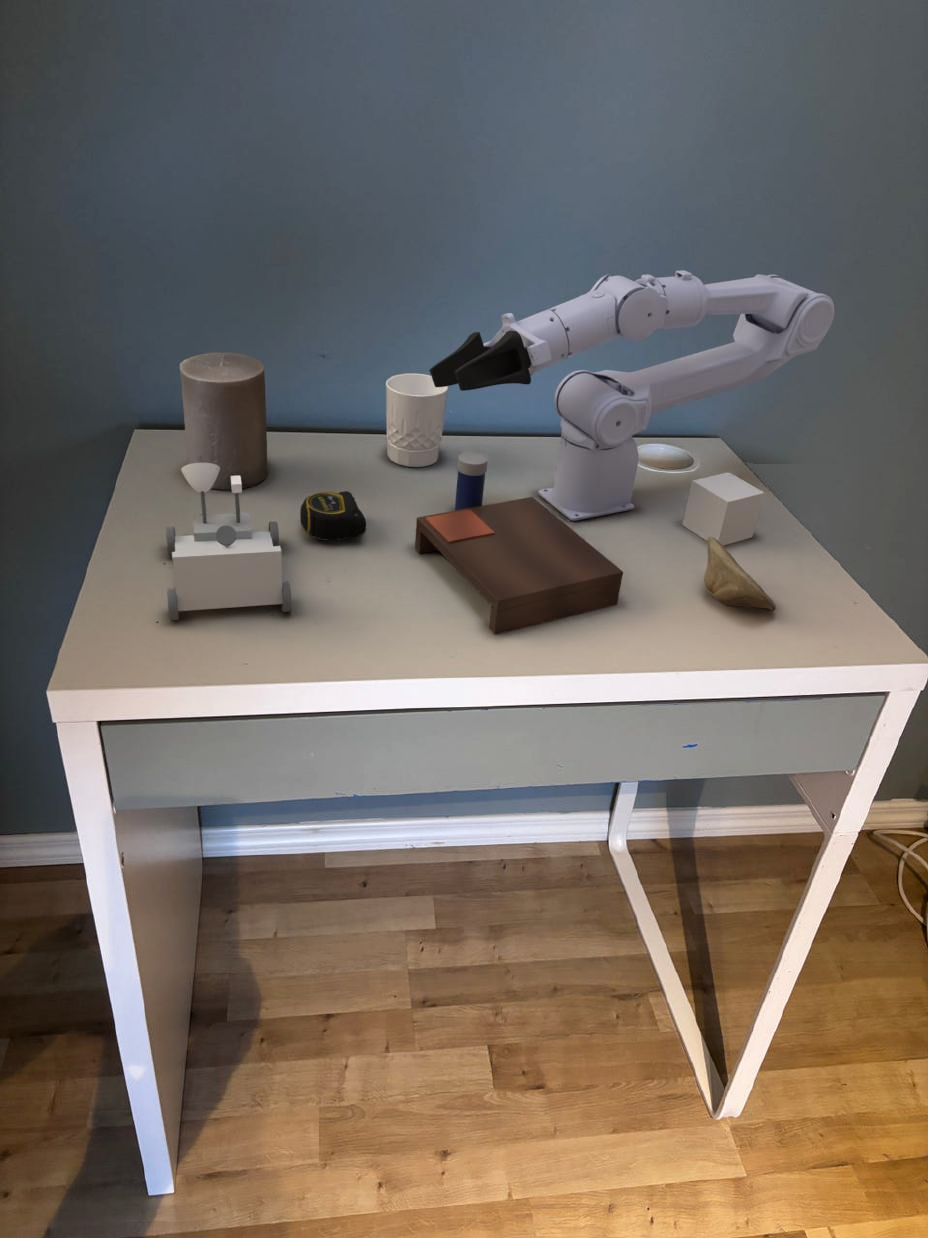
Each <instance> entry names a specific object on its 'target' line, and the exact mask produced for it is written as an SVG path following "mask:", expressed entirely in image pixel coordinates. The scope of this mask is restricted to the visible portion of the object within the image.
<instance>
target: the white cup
mask: <svg viewBox="0 0 928 1238" xmlns="http://www.w3.org/2000/svg"><path fill="white" fill-rule="evenodd" d="M448 391H449V386H446V387H435V385H434V382H433V379H432V376H431V374H430V375H429V374H424V373H401V374H395V375H393V376H391V377H389V378H388V379H386V381H385V423H386V438H387V441H386V443H387V444H386V445H387V448H386V451H387V454H386V455H387V457H388V458H389V460H390V461H391V462H393V463H394V464H396V465H399V466H403V467H408V468H424V467H428V466H431V465H433V464H436V462H438V459H439V456H440V447H441V442H442V440H443V439H442V438H443V431H444V424H445V416H446V408H447V406H446V405H447V399H448V393H449V392H448Z"/></svg>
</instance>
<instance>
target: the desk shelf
mask: <svg viewBox="0 0 928 1238" xmlns="http://www.w3.org/2000/svg"><path fill="white" fill-rule="evenodd" d="M414 538H415V540H414V550H415V551H416V552H417V553H418V554H419V555H422V554H426V553H431V552H436V551H439V552H440V553H441V554H442V556H444V557H445V558H446V559H447V561H448V562H449V563H451V565H452V566H453V567H454V568H455V569H456V570H457V571H458V572H459V573H460V574H461V575H462V576H463V577H464V578H465V579H466V580H467V581H468V582H469V583H470V585H472V587H474V588H475V589H476V591H478V593H479V594H481V596H482V597H483V598H484V599H486V600H487V602H488V603H489V604H490V614H489V621H488V629H489V630H490V631H491V632H492V633H493V634H494V635H497V634H501V633H505V632H509V631H514V630H518V629H521V628H526V627H530V626H534V625H537V624H538V625H539V624H542V623H546V622H547V623H548V622H551V621H554V620H559V619H563V618H566V617H571V616H574V615H578V614H583V613H586V612H590V611H594V610H598V609H603V608H607V607H612V606H615V605H618V601H619V596H620V591H621V586H622V581H623V576H624V571H623V570H622V569H620V568H619V567H618V566H617V565H616V564H615V563H614V562H612V561H611V560H610V559H609V558H607V557H606V556H605V555H604V554H603V553H601V552H600V551H599V550H597V548H595V547H594V546H593V545H591V544H590V543H589V542H588V541H587V540H585V539H584V538H583V537H582V536H580V535H579V533H577V532H576V531H574V529H572V528H571V527H570V526H568V525H567V524H566V523H565V522H564V521H563V520H561V519H560V518H559V517H558V516H557V515H555V514H554V513H553V512H551V511H550V510H549V509H548V508H547V507H545V506H544V505H543V504H542V503H540V502H539V501H538V500H537V499H536V498H535V497H533V496H529V497H524V498H523V497H522V498H519V499H512V500H507V501H500V502H495V503H491V504H485V505H484V504H483V505H482V506H478V507H473V508H467V509H462V510H456V511H455V510H452V511H445V512H440V513H435V514H428V515H424V516H417V517H416V524H415V537H414Z"/></svg>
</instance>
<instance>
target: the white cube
mask: <svg viewBox="0 0 928 1238" xmlns="http://www.w3.org/2000/svg"><path fill="white" fill-rule="evenodd" d="M764 497H765V492H764V491H763V490H761V489H759V488H757V487H755V486H753V485H752V484H751V483H748V482H747V481H745V480H743V479H742V478H740V477H738V476H736V475H734V474H733V473H731V472H729V471H728V472H723V473H719V474H715V475H711V476H706V477H701V478H697V479H693V480H692V481H691V485H690V490H689V494H688V498H687V503H686V507H685V512H684V515H683V520H682V526H683V527H685V528H686V529H688V530H689V531H691V532H692V533H693V534H695V535H697V536H699V537H700V538H701V539H703V540H705V541H706V542H707V539H708V537H710V536H711V537H714V538H715V539H716V540H718V541H719V543H721V544H722V545H723V546H726V545H730V544H734V543H737V542H740V541H745V540H747V539H751V538H753V536H754V533H755V529H756V527H757V522H758V518H759V515H760V512H761V508H762V505H763V501H764Z"/></svg>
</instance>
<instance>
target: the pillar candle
mask: <svg viewBox="0 0 928 1238" xmlns="http://www.w3.org/2000/svg"><path fill="white" fill-rule="evenodd" d="M179 373H180V382H181V384H180V385H181V394H182V406H183V407H182V408H183V419H184V420H183V421H184V432H185V433H184V434H185V441H186V442H185V444H186V454H187V455H186V456H187V465H188V464H192V463H198V456H202V463H212V464H215V465H218V466H219V467H220V470H219V473H218V476H217V478H216V480H215V482H214V484H213V486H212V487H211V489H213V490H215V489H216V490H224V491H225V490H226V491H232V488H231V476H234V475H237V476H240V477H241V483H242V489H245V488H246V489H247V488H249V487H252V486H255V485H257V484H259V483H261V482H263V481H264V480H266V479H267V477H268V475H269V469H268V436H267V435H268V433H267V431H268V428H267V406H266V404H267V402H266V401H267V400H266V399H267V398H266V378H265V367H264V364H263V363H262V361H260V360H259V359H257V358H255V357H253V356H250V355H247V354H244V353H243V354H242V353H236V352H207V353H202V354H201V353H200V354H197V355H194V356H191V357H188V358H186V359H183V360H182V361H181V362H180V364H179Z"/></svg>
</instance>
